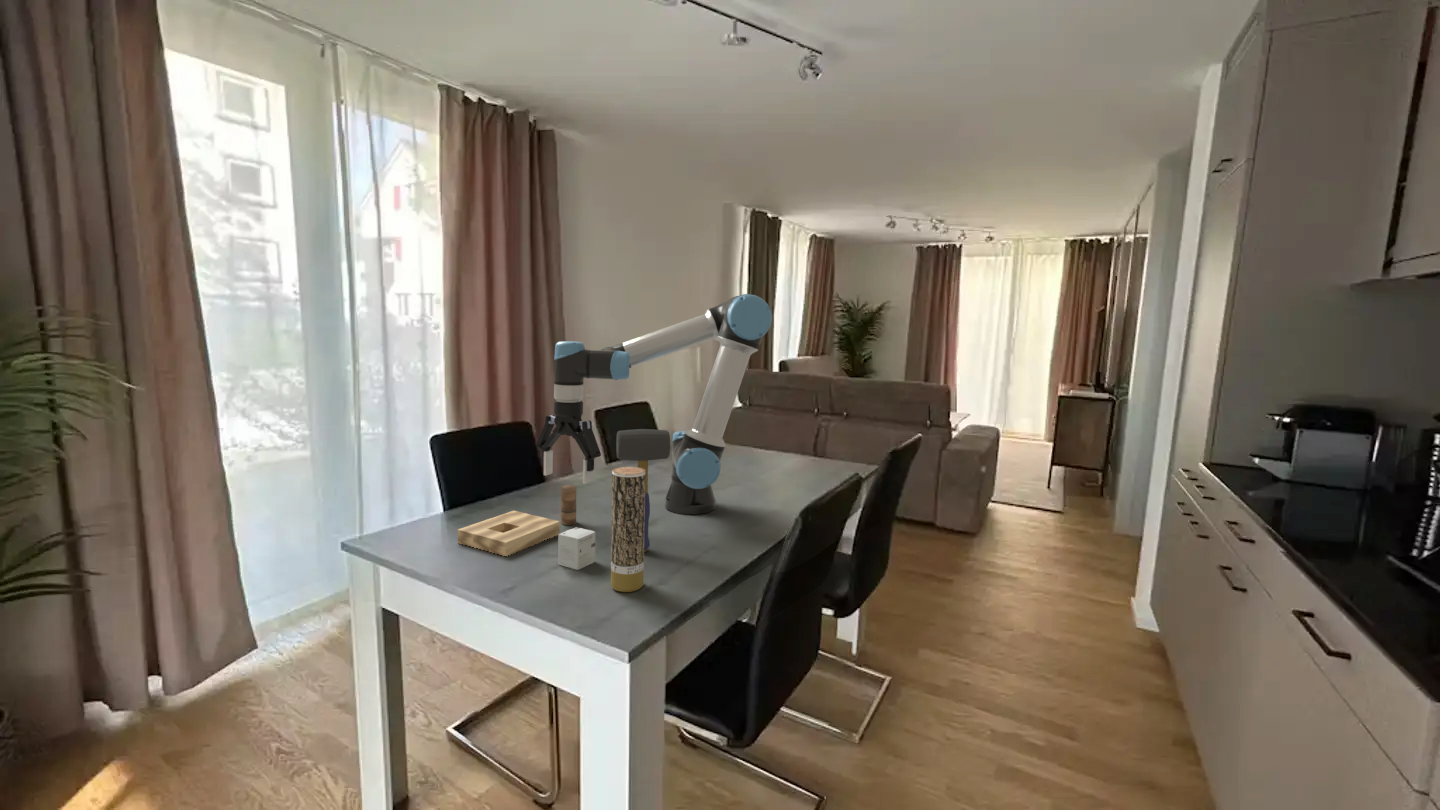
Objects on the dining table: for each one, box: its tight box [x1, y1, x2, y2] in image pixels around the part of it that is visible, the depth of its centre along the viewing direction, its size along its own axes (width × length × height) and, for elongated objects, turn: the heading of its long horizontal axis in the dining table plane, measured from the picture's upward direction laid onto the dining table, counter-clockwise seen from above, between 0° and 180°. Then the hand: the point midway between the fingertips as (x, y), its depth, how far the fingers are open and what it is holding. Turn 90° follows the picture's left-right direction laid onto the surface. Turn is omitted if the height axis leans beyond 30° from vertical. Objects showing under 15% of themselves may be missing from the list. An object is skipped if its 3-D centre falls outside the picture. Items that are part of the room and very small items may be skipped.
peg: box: [560, 484, 577, 526], centre depth 168 cm, size 4×4×10 cm
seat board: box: [457, 510, 561, 557], centre depth 156 cm, size 16×18×4 cm
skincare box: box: [557, 526, 596, 571], centre depth 142 cm, size 6×6×7 cm
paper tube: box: [610, 466, 646, 593], centre depth 129 cm, size 7×7×25 cm
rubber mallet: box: [615, 428, 671, 553], centre depth 149 cm, size 12×8×30 cm, turn 104°
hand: (567, 478), depth 167 cm, fingers open, 13 cm apart
